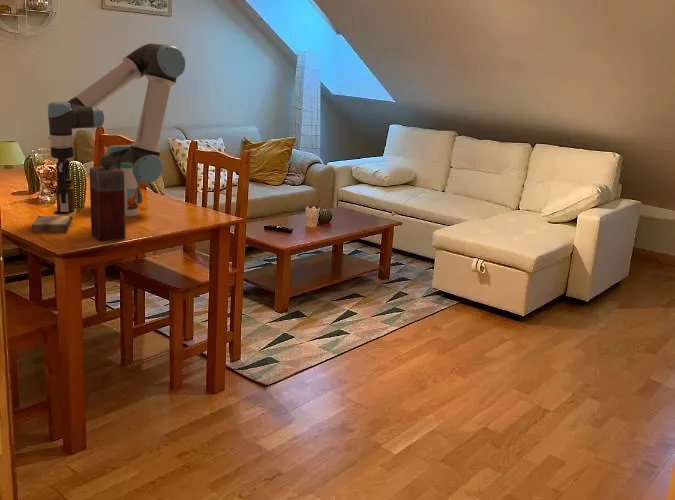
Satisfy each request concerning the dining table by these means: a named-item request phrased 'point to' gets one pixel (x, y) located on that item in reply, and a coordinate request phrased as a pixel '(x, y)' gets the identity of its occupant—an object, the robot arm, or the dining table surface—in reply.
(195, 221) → the dining table surface
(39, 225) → the stand
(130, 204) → the milk bottle
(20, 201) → the dining table surface
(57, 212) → the condiment
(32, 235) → the dining table surface
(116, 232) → the square decanter
